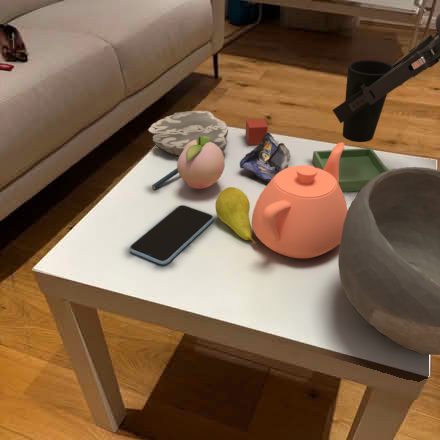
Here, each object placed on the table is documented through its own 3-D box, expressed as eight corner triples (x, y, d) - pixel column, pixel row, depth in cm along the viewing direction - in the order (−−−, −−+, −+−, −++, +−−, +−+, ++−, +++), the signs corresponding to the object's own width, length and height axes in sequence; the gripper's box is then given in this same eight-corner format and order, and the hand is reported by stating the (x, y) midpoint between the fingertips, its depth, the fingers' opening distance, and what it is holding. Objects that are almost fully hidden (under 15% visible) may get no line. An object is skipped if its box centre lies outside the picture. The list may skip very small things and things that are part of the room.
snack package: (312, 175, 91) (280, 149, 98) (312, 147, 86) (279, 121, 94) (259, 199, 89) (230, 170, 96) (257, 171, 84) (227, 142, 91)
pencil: (151, 184, 87) (208, 145, 92) (153, 189, 88) (209, 149, 93) (153, 185, 86) (211, 145, 92) (155, 190, 87) (212, 150, 92)
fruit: (211, 204, 82) (233, 263, 77) (209, 186, 76) (232, 248, 72) (242, 194, 82) (266, 252, 78) (242, 175, 76) (267, 237, 72)
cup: (377, 147, 83) (393, 76, 74) (334, 141, 84) (345, 72, 76) (380, 129, 88) (396, 62, 80) (339, 124, 90) (350, 58, 82)
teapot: (295, 191, 87) (304, 127, 78) (370, 220, 80) (388, 154, 72) (223, 248, 74) (224, 180, 66) (304, 288, 68) (317, 218, 59)
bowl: (442, 425, 53) (536, 356, 42) (277, 297, 61) (319, 209, 49) (502, 314, 68) (584, 241, 56) (363, 221, 75) (411, 140, 64)
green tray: (368, 158, 97) (371, 147, 95) (391, 189, 88) (394, 178, 86) (311, 161, 96) (313, 150, 94) (329, 192, 87) (331, 181, 85)
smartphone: (215, 215, 80) (164, 263, 70) (215, 219, 80) (164, 267, 71) (180, 202, 82) (126, 247, 73) (180, 206, 83) (127, 251, 74)
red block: (262, 136, 104) (264, 118, 101) (266, 144, 101) (267, 126, 98) (245, 137, 103) (246, 119, 101) (248, 145, 100) (249, 127, 98)
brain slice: (144, 128, 106) (142, 115, 104) (216, 121, 109) (216, 108, 107) (158, 170, 92) (157, 156, 90) (239, 160, 96) (240, 146, 94)
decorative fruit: (218, 203, 84) (218, 152, 77) (174, 198, 85) (171, 147, 78) (228, 177, 90) (229, 128, 83) (187, 173, 91) (185, 123, 84)
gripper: (472, 64, 62) (335, 147, 79) (497, 28, 74) (374, 107, 92) (444, 12, 60) (311, 109, 77) (474, -15, 73) (354, 73, 90)
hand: (346, 108), depth 84 cm, fingers closed on cup, 8 cm apart
